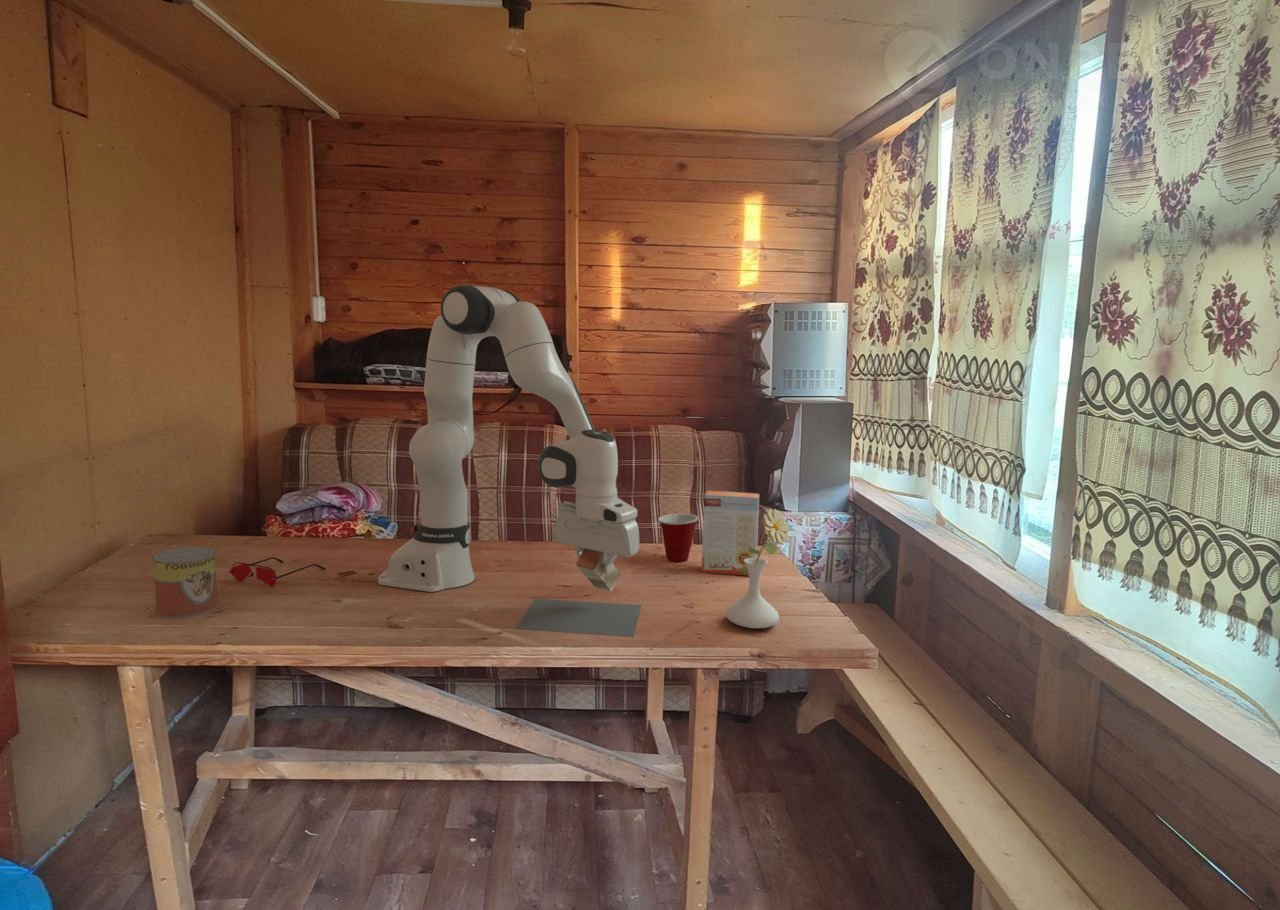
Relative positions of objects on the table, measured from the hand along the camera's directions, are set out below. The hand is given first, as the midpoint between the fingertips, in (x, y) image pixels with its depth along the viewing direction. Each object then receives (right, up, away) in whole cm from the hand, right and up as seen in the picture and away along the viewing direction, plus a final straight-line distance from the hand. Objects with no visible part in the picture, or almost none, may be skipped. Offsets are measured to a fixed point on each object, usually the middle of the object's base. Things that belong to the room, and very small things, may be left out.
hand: (595, 569), depth 163 cm
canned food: (-86, -8, -3) cm, 87 cm away
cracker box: (+33, -6, +34) cm, 48 cm away
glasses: (-78, -5, +21) cm, 81 cm away
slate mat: (-3, -10, -2) cm, 11 cm away
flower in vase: (+34, -12, -1) cm, 36 cm away
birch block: (+2, -3, +4) cm, 6 cm away
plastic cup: (+20, -4, +43) cm, 48 cm away
